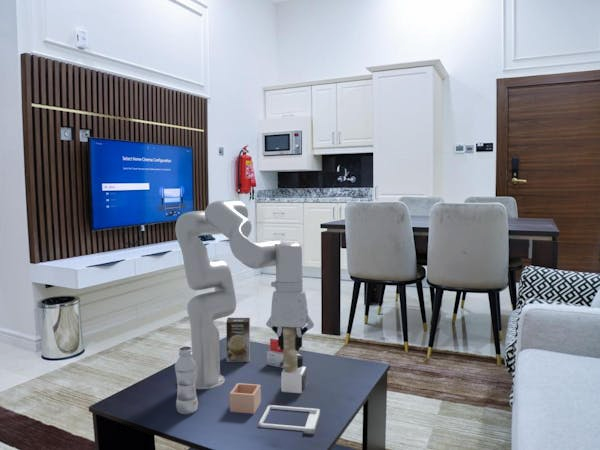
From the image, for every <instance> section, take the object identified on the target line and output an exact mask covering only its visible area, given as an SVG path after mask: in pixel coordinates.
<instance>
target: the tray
mask: <svg viewBox="0 0 600 450" xmlns="http://www.w3.org/2000/svg"><path fill="white" fill-rule="evenodd" d="M271 410H282V411H292V412H293V411H296V412H305V413H306V412H309V413H308V416H307V420H306V423H305V426H299V425H288V424H287V425H286V424H275V423H264V422H265V420H266V418H267V416H268V414H269V413H270V411H271ZM320 416H321V408H313V407H301V406H300V407H298V406H287V405H273V404H268V405H267V407H266V408H265V411H264V413H263V415H262V416H261V418H260V420H259V422H258V424H257V425H258V427H259V428H267V429H269V428H270V429H280V430H291V431H301V432H302V434H306V435H307V434H308V435H315V432H316V430H317V425H318V423H319V420H320Z"/></svg>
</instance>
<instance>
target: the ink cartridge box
mask: <svg viewBox="0 0 600 450" xmlns="http://www.w3.org/2000/svg"><path fill="white" fill-rule="evenodd" d="M269 343H270V344H269V350H268V351H266V363H267V365H268V366H273V367H278V368H282V369H284V359H283V350H280V346H278V339H276V338H270V339H269Z"/></svg>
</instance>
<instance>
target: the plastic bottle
mask: <svg viewBox="0 0 600 450" xmlns="http://www.w3.org/2000/svg"><path fill="white" fill-rule="evenodd" d="M178 350H179V352H178V356H179V357H178V358H177V360H176V361H175V364H174V372H175V377H176V383H177V384H176V385H177V386H176V387H177V390H176V391H177V393H176V395H177V396H176V400H175V408H176V411H177V413H179V414H180V415H191V414H193V413H195V412H196V411H197V410H198V408H199V400H198V395H197V389H196V387H195V380H196V368H197V364H196V361H195V360H194V358H193V357H192V346H181V347H179V349H178Z"/></svg>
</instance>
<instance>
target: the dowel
mask: <svg viewBox="0 0 600 450" xmlns="http://www.w3.org/2000/svg"><path fill="white" fill-rule="evenodd" d="M296 337H297V330H296V328H290V327H283V359H284V368H283V370H284V371H285V372H287V373H293V372H296V371H297V354H298V351H297V350H296Z"/></svg>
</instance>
